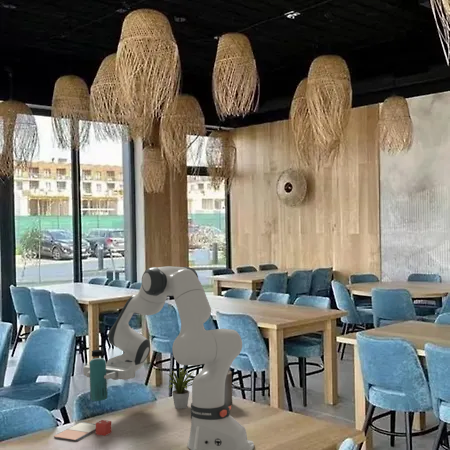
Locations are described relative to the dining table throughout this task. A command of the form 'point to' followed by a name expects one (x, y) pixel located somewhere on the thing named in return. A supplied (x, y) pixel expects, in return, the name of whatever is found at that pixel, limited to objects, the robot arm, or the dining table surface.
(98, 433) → the red die
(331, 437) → the dining table surface
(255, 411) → the dining table surface
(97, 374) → the beverage bottle
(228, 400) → the pillar candle
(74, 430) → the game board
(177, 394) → the house plant
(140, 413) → the dining table surface
